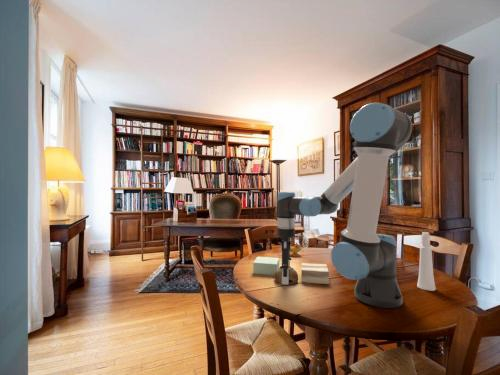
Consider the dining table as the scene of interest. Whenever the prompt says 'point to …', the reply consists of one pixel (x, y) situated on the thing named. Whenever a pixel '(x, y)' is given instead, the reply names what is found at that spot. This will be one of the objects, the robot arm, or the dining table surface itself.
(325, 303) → the dining table surface
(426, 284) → the cosmetic bottle
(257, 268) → the green block
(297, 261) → the dining table surface
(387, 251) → the robot arm
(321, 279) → the beech block
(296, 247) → the magic lamp
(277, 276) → the brown domed lump
